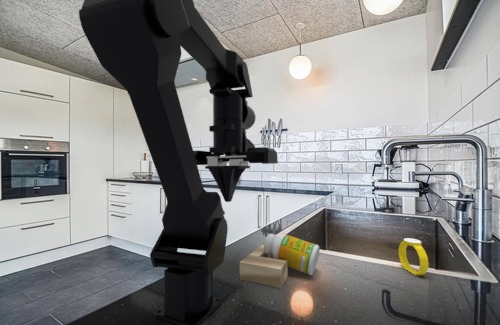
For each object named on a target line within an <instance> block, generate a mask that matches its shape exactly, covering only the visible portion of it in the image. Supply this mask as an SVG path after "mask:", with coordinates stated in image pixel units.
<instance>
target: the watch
mask: <svg viewBox="0 0 500 325" xmlns="http://www.w3.org/2000/svg"><path fill="white" fill-rule="evenodd" d="M408 246H410V247H413V248H414V249H415V251H416V253H417V255H418V258H419V268H418V270H417V269H416V268H413V267H411V264H410V263H409V261H408V257H407V248H408ZM398 258H399V261H400V264H401V265H402V267H403V269H404V270H406V271H407V270H408V271H407V272H409V273H411V274H412V275H414V276H423V275H426V273H427V272H428V269H429V265H430V264H429V258H428V255H427V253H426V251H425V249H424V247H423V246H422V241H421V240H419V239H415V238H411V237H410V238H409V237H405V238H403V241H401V243H400V244H399V246H398Z"/></svg>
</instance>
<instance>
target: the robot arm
mask: <svg viewBox="0 0 500 325" xmlns="http://www.w3.org/2000/svg"><path fill="white" fill-rule="evenodd" d="M78 15H79V22H80V25H81V28H82V31H83V33H84V36H85V37H86V39H87V41H88V42H89V45H90V47H91V48H92V51H93V52H94V54H95V56H96V58H97V60H98V61H99V63H100V65H101V67H102V68H103V69H104V70H105V71H106V72H107V73H108V74H109V75H110V76H111V77H112V78H113V79H115V81H116V82H118V83H119V85H120V86H122V88H123V89H124V90H126V92H127V94H128V96H129V99H130V101H131V104H132V107H133V109H134V113H135V115H136V119H137V121H138V123H139V127H140V128H141V131H142V134H143V138H144V140H145V142H146V146H147V149H148V151H149V154H150V156H151V159H152V162H153V165H154V168H155V170H156V173H157V176H158V178H159V182H160V184H161V187H162V190H163V193H164V196H165V198H166V205H165V209H164V211H163V216H162V217H161V222H162V227H163V229H162V231H161V232H160V233H159V236H158V238H157V240H156V241H155V244H154V246H153V248H152V249H151V251H150V253H149V257H150V261H151V264H152V268H164V270H163V271H164V273H163V274H164V275H163V277H164V280H163V283H164V284H163V285H164V286H163V290H164V291H163V295H164V296H163V305H162V306H161V307H160V308H158V309H157V310H156V311H155V312H154V316H155V318H158V319H161V320H164V321H167V322H170V323H171V324H172V323H173V324H176V325H201V323H202V322H203V321H204V320H205V319H206V318H208V317H209V316H210V315H211V313H213V312H214V311H215V310H216V309H217V308H218V307H219V306H220V305H221V304H222V299H221V298H218V297H215V296H213V295H214V294H213V293H214V292H213V282H214V281H213V275H214V274H213V272H214V271H215V270H217V269H218V267H220V266H221V265H222V264H223V263H224V261H225V254H226V246H227V239H228V238H227V237H228V230H229V229H228V228H229V227H228V221H227V219H226V217H225V213H226V212H225V210H224V209H223V205H222V199H221V196H220V193H221V195H222V197H223V199H224V202H225V203H226V202H227V203H230V202H232V201H233V198H234V194H235V191H236V188H237V186H238V184H239V180H240V178H241V176H242V174H243V173H244V172H245V170H246V169H247V170H248V169H251V168H250V167H251V166H250V165H249V163H250V164H262V165H263V164H264V165H267V164H269V165H270V164H275V165H276V164H278V160H279V159H278V152H277V151H276V150H275V148H270V147H266V146H262V147H256V146H255V144H254V143H253V142H252V141H251V140H250V139H248V137H247V131H246V130H249V129H250V128H252V127H253V126H254V124H255V122H256V119H257V118H256V113H255V110H253V108H251V106H249V105H248V101H247V98H248V99H249V98H253V97H254V96H253V91H252V84H251V80H250V74H249V70H248V69H249V68H248V64H247V62H246V61H244V59H243V58H242V56H241V55H239V54H238V53H237V52H236V51H235V50H231V49H227V48H225V47H224V45H223V44H222V43H221V41H220V40H219V38H218V37H217V36H216V34H215V33H214V31H213V30H212V29H211V28H210V26H209V25H208V23H207V22H206V21H205V20H204V18H203V17H202V15H201V14H200V13H199V11H198V10H197V8H196V6H195V2H194V0H83V2H82V6H81V8H80V9H79V10H78ZM181 48H182V49H183V50H184V51H186V53H187V54H189V56H190V57H191V58H192V59H194V61H195V62H197V63H198V64H199V66H200V67H202V68H203V69H204V71H205V80H206V81H207V83H208V85H209V87H210V89H209V91H208V92H209V93H210V94H211V95H212V97H213V99H212V102H213V103H212V105H213V106H212V107H213V108H212V111H213V112H212V113H213V115H212V117H213V118H212V121H213V123H212V125H209V130H208V131H209V132H211V133H213V138H212V139H213V145H212V147H211V146H210V147H209V151H206V150H194V148H193V145H192V142H191V138H190V134H189V131H188V127H187V123H186V121H185V117H184V113H183V109H182V106H181V102H180V98H179V95H178V90H177V87H176V83H175V79H176V76H177V72H178V69H179V66H180V65H179V64H180V62H181V61H180V60H181V58H182V49H181ZM237 88H238V89H237ZM240 88H241V89H240ZM228 164H229V165H228ZM198 166H204V168H205V169H206V170H208V171H209V172H210V174H211V176H212V177H213V179H214V180H215V182H216V184H217V186H218V189H219V191H220V193H218V191H207V190H206V189H205V188H204V186H203V182H202V179H201V174H200V172H199V168H198ZM179 249H181V250H182V249H183V250H191V251H192V250H193V251H201V252H202V251H203V252H205V253H204V254H202V253H193V252H192V253H191V252H181V251H178V250H179Z"/></svg>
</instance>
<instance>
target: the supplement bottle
mask: <svg viewBox="0 0 500 325" xmlns="http://www.w3.org/2000/svg"><path fill="white" fill-rule="evenodd" d="M263 244H264V247H263V251H264V253H265V254H268V255H270V256H271V255H273V258H274V259H278V260H285V261H287V268H291V269H294V270H297V271H299V272H302V273H304V274H306V275H309V276H313V275H314V273H315V271H316V268H317V264H318V262H319V257H320V246H319V244H315V243H312V242H309V241H306V240H303V239H301V238H298V237H295V236H292V235H289V234H285V233H283V234H280V235H279V236H278V235H276V234H273V233H269V234H268V235H266V238H265V240H264V243H263Z"/></svg>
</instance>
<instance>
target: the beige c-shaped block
mask: <svg viewBox="0 0 500 325" xmlns="http://www.w3.org/2000/svg"><path fill="white" fill-rule="evenodd" d="M263 247H264V243H262V244H261V245H260V246H258V247H257V248H256V249H255V250H254V251H252V252H250V253H249V254H248V255H246V257H245V258H243V259H242V260H240V261H239V280H240V281H241V280H242V281H246V282H251V283H255V284H258V285H259V284H260V285H263V286H268V287H273V288H278V289H282V287H283V286H284V285H285V283H286V281H287V280H288V266H287V261H285V260H278V259H274V258H273V255H271V256H270V255H268V254H265V253H264V251H263Z"/></svg>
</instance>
